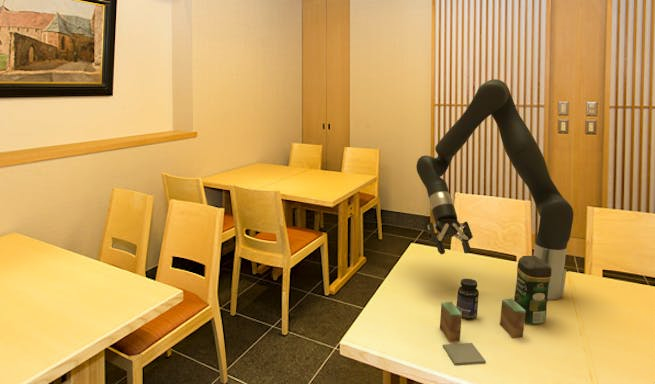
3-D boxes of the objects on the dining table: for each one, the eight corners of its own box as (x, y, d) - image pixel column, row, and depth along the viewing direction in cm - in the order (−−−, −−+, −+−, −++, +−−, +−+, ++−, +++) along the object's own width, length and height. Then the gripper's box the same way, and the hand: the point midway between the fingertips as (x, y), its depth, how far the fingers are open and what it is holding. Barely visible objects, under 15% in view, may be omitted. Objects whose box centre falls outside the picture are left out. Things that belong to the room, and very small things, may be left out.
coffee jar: (508, 309, 133) (514, 253, 129) (533, 309, 133) (540, 253, 129) (522, 326, 124) (529, 265, 120) (549, 326, 124) (557, 265, 120)
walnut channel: (509, 323, 125) (512, 298, 123) (522, 337, 118) (525, 310, 116) (439, 327, 123) (441, 302, 121) (449, 341, 116) (451, 314, 114)
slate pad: (471, 344, 115) (471, 342, 115) (485, 363, 107) (485, 361, 107) (442, 346, 114) (442, 344, 114) (454, 365, 106) (454, 363, 106)
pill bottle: (478, 321, 126) (481, 287, 124) (456, 319, 127) (459, 285, 125) (475, 311, 132) (478, 278, 130) (454, 309, 133) (457, 276, 131)
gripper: (427, 202, 140) (439, 249, 132) (466, 202, 143) (481, 247, 135) (418, 213, 146) (430, 258, 138) (456, 212, 149) (469, 256, 141)
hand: (455, 253), depth 137 cm, fingers open, 8 cm apart
